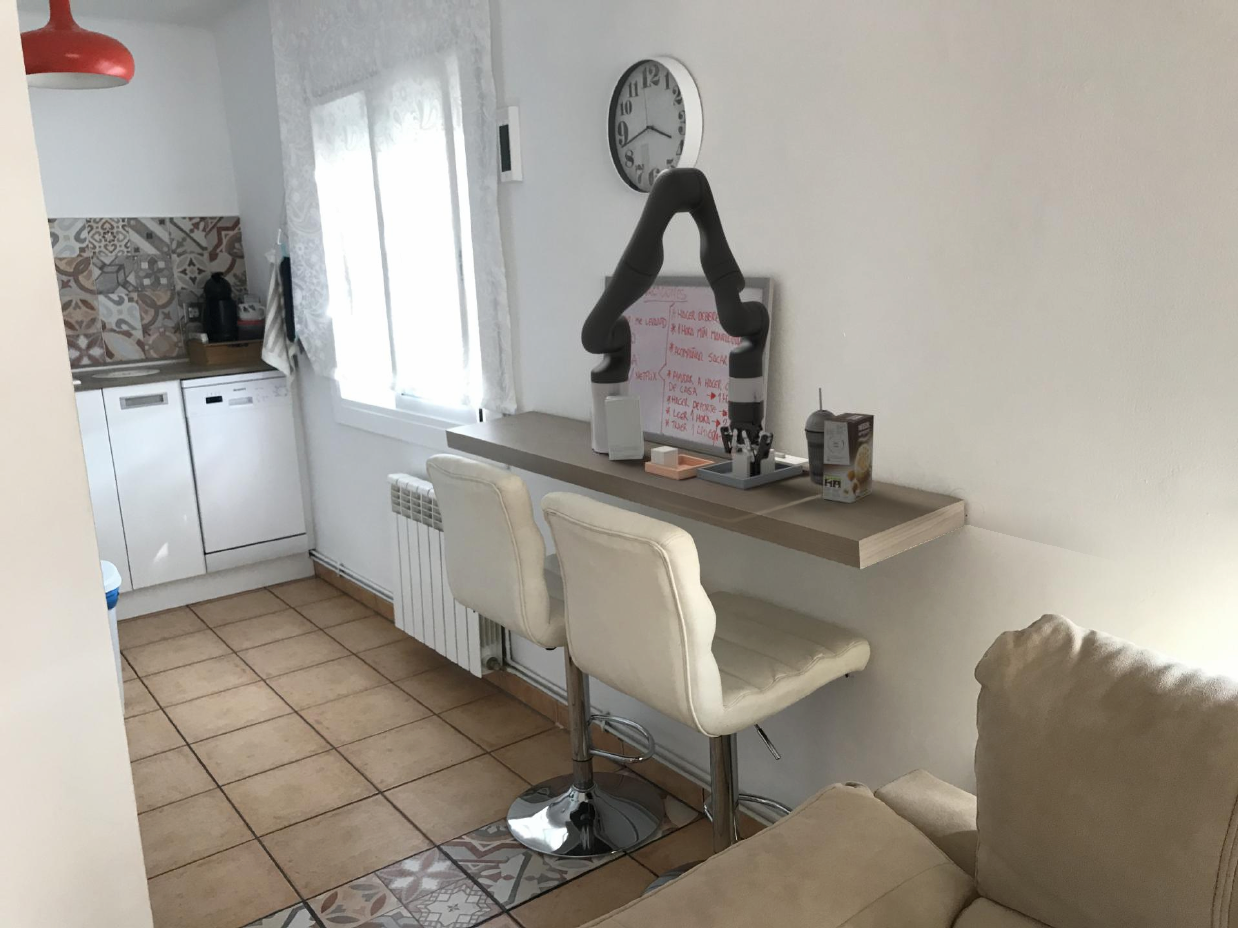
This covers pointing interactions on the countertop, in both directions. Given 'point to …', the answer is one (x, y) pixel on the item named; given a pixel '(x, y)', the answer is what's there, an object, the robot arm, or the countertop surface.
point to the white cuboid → (741, 464)
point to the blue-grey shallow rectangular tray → (724, 475)
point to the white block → (665, 457)
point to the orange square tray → (679, 467)
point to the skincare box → (624, 427)
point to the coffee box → (848, 457)
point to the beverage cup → (816, 441)
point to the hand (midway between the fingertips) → (746, 475)
